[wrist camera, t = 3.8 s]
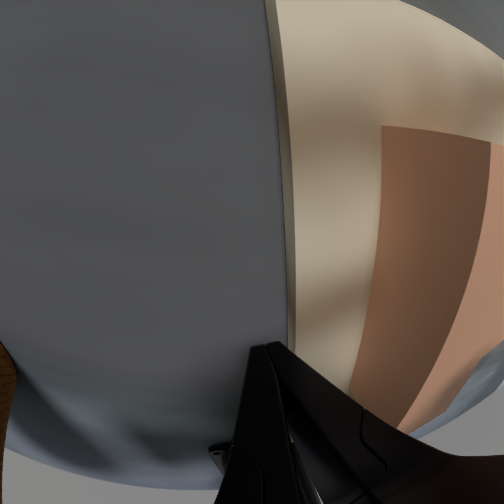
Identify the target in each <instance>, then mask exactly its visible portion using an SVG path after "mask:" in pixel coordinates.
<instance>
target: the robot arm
mask: <svg viewBox="0 0 504 504" xmlns="http://www.w3.org/2000/svg"><path fill="white" fill-rule="evenodd" d="M289 433H290V435H291V437H292V440H293V442H292V443H291V440H290V435H289ZM208 451H209V455H210V457H211V458H212V460H213V461H214V463H215V464H216V466H217V467H218V469H219V470H220V472H221V473H222V475H223V476H224V477H223V480H222V483H221V486H220V489H219V492H218V495H217V497H216V500H215V502H214V504H321V501H320V499H319V497H318V494H319V496H320V498H321V500H322V502H323V504H504V455H493V456H457V455H452V454H449V453H445V452H443V451H440V450H438V449H436V448H434V447H431V446H429V445H427V444H425V443H423V442H421V441H419V440H417V439H415V438H413V437H411V436H409V435H407V434H405V433H403V432H401V431H399V430H398V429H396V428H394V427H392V426H390V425H389V424H387V423H386V422H384V421H383V420H381V419H380V418H378V417H377V416H375V415H374V414H373V413H371V412H370V411H369V410H367V409H364V407H363V406H362V405H360V404H359V403H357V402H356V401H355V400H353V399H352V398H351V397H349V396H348V395H347V394H345V393H344V392H343V391H341V390H340V389H339V388H338V387H336V386H335V385H334V384H332V383H331V382H330V381H328V380H327V379H326V378H325V377H323V376H322V375H321V374H319V373H318V372H317V371H316V370H314V369H313V368H312V367H311V366H309V365H308V364H307V363H306V362H304V361H303V360H302V359H301V358H299V357H298V356H297V355H296V354H294V353H293V352H292V351H291V350H290V349H288V348H287V347H286V346H285V345H283V344H282V343H281V342H280V341H275V342H270V343H266V344H265V345H264V344H261V345H256V346H252V347H251V348H250V352H249V357H248V362H247V368H246V373H245V378H244V383H243V389H242V394H241V399H240V404H239V409H238V414H237V419H236V424H235V429H234V434H233V439H232V443H231V444H224V445H217V446H212V447H209V448H208ZM315 488H316V489H315ZM316 490H317V491H316ZM317 492H318V494H317Z"/></svg>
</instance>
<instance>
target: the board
mask: <svg viewBox="0 0 504 504" xmlns="http://www.w3.org/2000/svg"><path fill="white" fill-rule="evenodd" d="M265 7H266V14H267V22H268V30H269V38H270V47H271V56H272V65H273V75H274V85H275V95H276V106H277V117H278V130H279V142H280V156H281V171H282V187H283V204H284V223H285V246H286V274H287V314H288V349H290V350H291V351H292V352H293V353H294V354H296V355H297V356H298V357H299V358H301V359H302V360H303V361H304V362H306V363H307V364H308V365H309V366H311V367H312V368H313V369H314V370H316V371H317V372H318V373H319V374H321V375H322V376H323V377H325V378H326V379H327V380H328V381H330V382H331V383H332V384H334V385H335V386H336V387H338V388H339V389H340V390H341V391H343V392H344V393H345V394H347V395H348V396H349V397H351V398H352V399H353V400H355V401H356V399H355V397H354V396H353V394H352V392H351V390H350V389H349V385H350V382H351V378H352V374H353V371H354V367H355V363H356V359H357V355H358V351H359V347H360V342H361V338H362V333H363V329H364V324H365V319H366V314H367V308H368V303H369V297H370V291H371V285H372V278H373V271H374V264H375V256H376V248H377V238H378V228H379V216H380V200H381V177H382V132H381V125H384V126H396V127H406V128H415V129H423V130H430V131H437V132H443V133H449V134H455V135H460V136H465V137H470V138H475V139H479V140H484V141H488V142H492V143H496V144H500V145H503V146H504V60H503V59H501V58H500V57H499V56H498V55H496V54H495V53H494V52H492V51H491V50H489V49H488V48H487V47H485V46H484V45H482V44H481V43H479V42H478V41H476V40H475V39H473V38H472V37H470V36H468V35H467V34H465V33H464V32H462V31H460V30H459V29H457V28H455V27H453V26H452V25H450V24H448V23H446V22H444V21H443V20H441V19H439V18H437V17H435V16H433V15H431V14H429V13H427V12H425V11H422V10H420V9H418V8H416V7H414V6H411V5H409V4H407V3H404V2H402V1H399V0H265ZM356 402H357V401H356ZM289 435H290V433H289ZM290 440H291V443H292V442H293V440H292V437H291V435H290Z"/></svg>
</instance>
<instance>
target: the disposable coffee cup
mask: <svg viewBox="0 0 504 504" xmlns="http://www.w3.org/2000/svg"><path fill="white" fill-rule="evenodd" d="M16 383H17V374H16V370H15V367H14V365H13V363H12V361H11V359H10V357H9V355H8V354H7V352H6V351H5V349H4V348H3V346H2V345H1V343H0V504H2V471H3V470H2V469H3V453H4V445H5V439H6V431H7V423H8V418H9V412H10V408H11V403H12V399H13V394H14V390H15V386H16Z"/></svg>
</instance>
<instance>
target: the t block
mask: <svg viewBox="0 0 504 504" xmlns="http://www.w3.org/2000/svg"><path fill="white" fill-rule="evenodd" d="M381 132H382V177H381V200H380V216H379V228H378V238H377V248H376V256H375V264H374V271H373V278H372V285H371V291H370V297H369V303H368V308H367V314H366V319H365V324H364V329H363V333H362V338H361V342H360V347H359V351H358V355H357V359H356V363H355V367H354V371H353V374H352V378H351V382H350V385H349V389H350V390H351V392H352V394H353V396H354V397H355V399H356V401H357V403H359V404H360V405H362V406H363V407H364V409H367V410H369V411H370V412H371V413H373V414H374V415H375V416H377V417H378V418H380V419H381V420H383V421H384V422H386V423H387V424H389V425H390V426H392V427H394V428H396V429H398V430H399V431H401V432H403V433H405V434H409V433H411V432H413V431H414V430H416V429H418V428H419V427H421V426H423V425H424V424H426V423H428V422H429V421H431V420H432V419H434V418H436V417H437V416H439V415H440V414H442V413H443V412H445V411H446V410H447V408H448V407H449V406H450V404H451V403H452V402H453V400H454V399H455V397H456V396H457V395H458V393H459V392H460V390H461V389H462V387H463V386H464V384H465V383H466V381H467V380H468V378H469V377H470V375H471V373H472V372H473V370H474V369H475V367H476V365H477V364H478V362H479V360H480V359H481V358H482V357H483V356H484V355H486V354H487V353H488V352H489V351H491V350H492V349H493V348H494V347H495V346H497V345H498V344H499V343H500V342H501V341H502V340H504V146H503V145H500V144H496V143H492V142H488V141H484V140H479V139H475V138H470V137H465V136H460V135H455V134H449V133H443V132H437V131H430V130H423V129H415V128H406V127H396V126H384V125H381Z"/></svg>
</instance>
